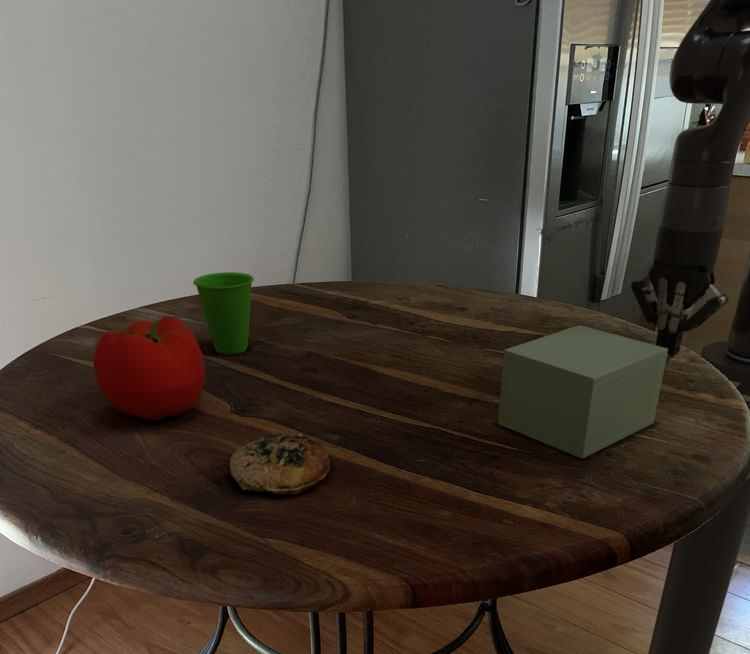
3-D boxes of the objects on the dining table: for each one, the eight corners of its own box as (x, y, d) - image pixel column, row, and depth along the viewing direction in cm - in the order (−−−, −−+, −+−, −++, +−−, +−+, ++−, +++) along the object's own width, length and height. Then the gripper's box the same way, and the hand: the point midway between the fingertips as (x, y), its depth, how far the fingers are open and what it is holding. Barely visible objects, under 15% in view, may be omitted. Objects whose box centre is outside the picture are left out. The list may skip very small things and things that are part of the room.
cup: (270, 350, 116) (264, 279, 111) (219, 363, 111) (210, 290, 106) (242, 336, 122) (235, 269, 117) (192, 348, 118) (182, 278, 112)
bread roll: (334, 448, 85) (330, 411, 82) (327, 508, 76) (323, 469, 73) (240, 451, 86) (232, 414, 83) (222, 511, 77) (213, 472, 74)
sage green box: (570, 394, 99) (579, 324, 94) (653, 423, 91) (668, 348, 86) (497, 424, 91) (503, 349, 86) (582, 459, 83) (594, 378, 78)
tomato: (152, 442, 88) (135, 347, 82) (82, 414, 95) (62, 325, 89) (234, 406, 97) (224, 318, 91) (164, 383, 104) (151, 301, 98)
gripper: (758, 225, 88) (726, 362, 97) (659, 212, 97) (638, 339, 106) (727, 234, 84) (696, 377, 93) (627, 220, 93) (607, 351, 102)
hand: (665, 356), depth 100 cm, fingers closed
